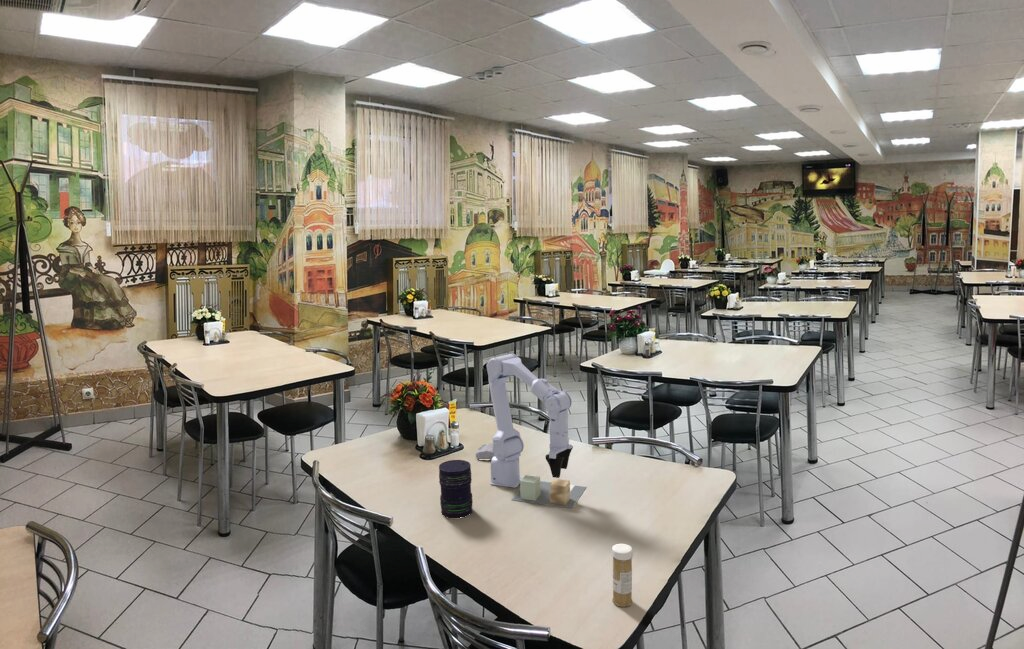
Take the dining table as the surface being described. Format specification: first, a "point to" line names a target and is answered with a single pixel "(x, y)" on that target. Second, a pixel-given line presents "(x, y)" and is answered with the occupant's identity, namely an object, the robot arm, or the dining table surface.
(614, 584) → the sprinkles bottle
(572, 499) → the slate mat
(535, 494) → the sage block
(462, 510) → the storage jar
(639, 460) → the dining table surface
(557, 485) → the maple block
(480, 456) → the stone block
